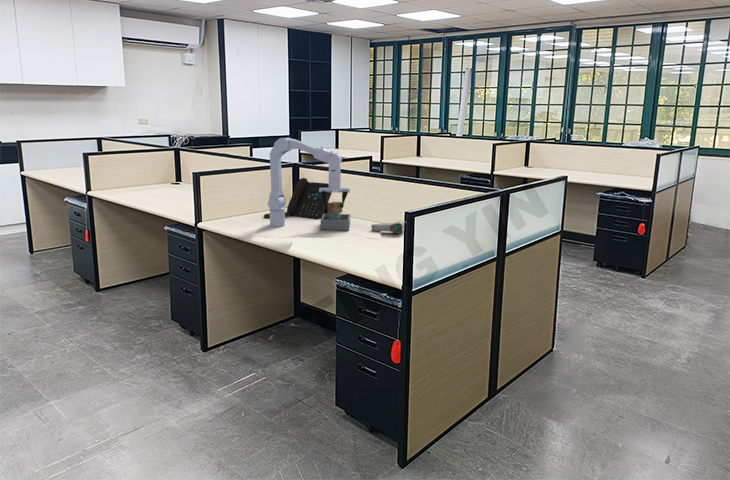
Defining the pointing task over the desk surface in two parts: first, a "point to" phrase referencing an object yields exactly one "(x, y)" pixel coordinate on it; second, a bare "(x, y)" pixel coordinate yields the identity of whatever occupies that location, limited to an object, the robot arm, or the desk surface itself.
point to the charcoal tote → (335, 223)
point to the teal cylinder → (335, 216)
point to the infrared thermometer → (389, 227)
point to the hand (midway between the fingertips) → (334, 207)
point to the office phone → (307, 200)
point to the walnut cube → (334, 207)
